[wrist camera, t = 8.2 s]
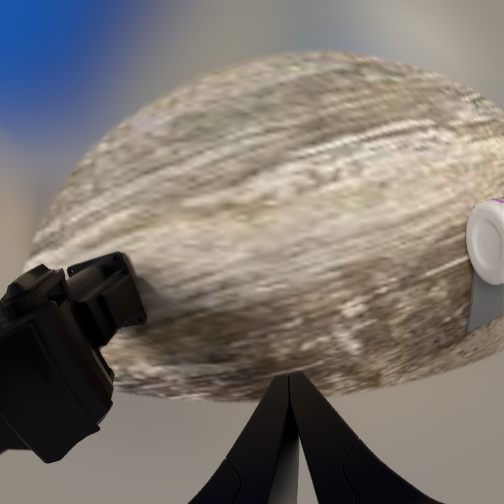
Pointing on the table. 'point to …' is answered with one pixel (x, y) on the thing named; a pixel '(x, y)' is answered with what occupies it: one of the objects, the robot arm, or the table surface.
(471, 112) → the table surface
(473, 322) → the mat
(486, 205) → the supplement bottle
